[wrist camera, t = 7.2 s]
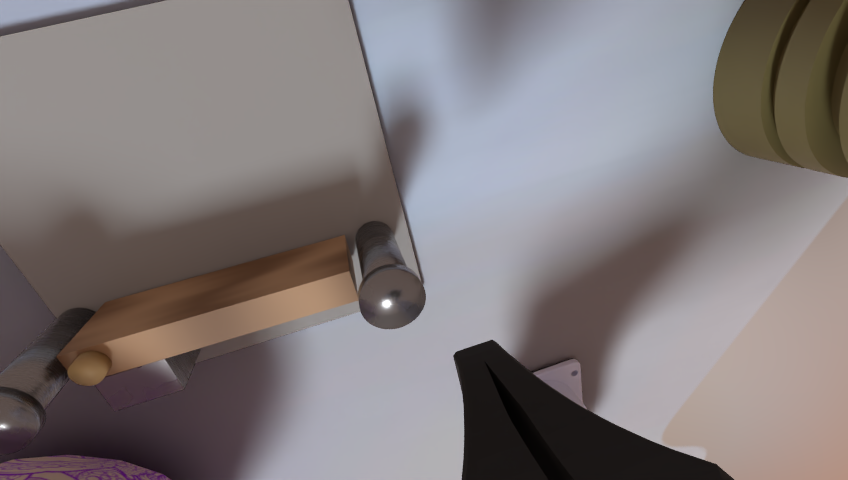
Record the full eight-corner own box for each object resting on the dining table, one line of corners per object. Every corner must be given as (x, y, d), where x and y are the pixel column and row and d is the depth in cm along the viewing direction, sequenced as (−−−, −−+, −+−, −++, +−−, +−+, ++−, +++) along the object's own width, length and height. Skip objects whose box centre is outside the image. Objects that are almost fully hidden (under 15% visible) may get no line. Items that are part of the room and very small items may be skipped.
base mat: (422, 287, 24) (423, 291, 23) (114, 384, 22) (110, 390, 22) (338, -35, 17) (338, -38, 16) (-125, 66, 15) (-136, 66, 15)
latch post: (206, 335, 22) (164, 436, 16) (91, 371, 21) (3, 490, 15) (169, 270, 20) (106, 357, 14) (42, 307, 20) (-79, 414, 14)
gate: (344, 234, 21) (350, 277, 17) (352, 260, 21) (360, 307, 17) (105, 302, 19) (47, 367, 15) (121, 327, 20) (69, 395, 16)
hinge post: (402, 250, 23) (431, 317, 17) (357, 263, 22) (369, 337, 16) (391, 206, 21) (417, 262, 15) (342, 220, 21) (350, 283, 15)
